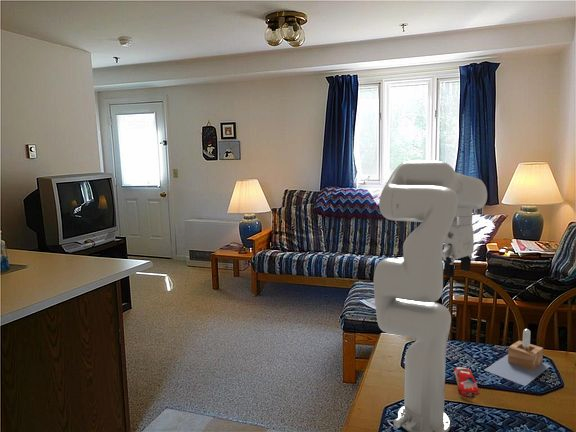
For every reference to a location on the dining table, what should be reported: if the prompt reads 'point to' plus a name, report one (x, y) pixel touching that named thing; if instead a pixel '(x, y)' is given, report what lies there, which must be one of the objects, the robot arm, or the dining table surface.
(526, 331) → the white rounded rod
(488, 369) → the grey flat plate
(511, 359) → the light brown hollow block
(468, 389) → the race car
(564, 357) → the dining table surface
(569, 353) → the dining table surface
